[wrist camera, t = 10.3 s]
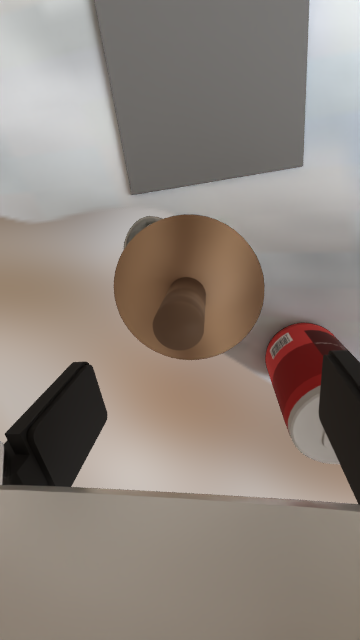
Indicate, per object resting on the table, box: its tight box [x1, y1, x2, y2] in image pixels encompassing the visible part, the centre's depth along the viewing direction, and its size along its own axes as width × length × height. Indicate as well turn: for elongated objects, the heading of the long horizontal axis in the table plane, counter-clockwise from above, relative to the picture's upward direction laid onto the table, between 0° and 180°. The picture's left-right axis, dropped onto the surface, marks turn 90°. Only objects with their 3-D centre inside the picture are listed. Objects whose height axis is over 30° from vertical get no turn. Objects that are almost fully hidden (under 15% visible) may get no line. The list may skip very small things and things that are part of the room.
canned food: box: [265, 323, 360, 464], centre depth 24 cm, size 8×8×11 cm
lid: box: [114, 215, 264, 360], centre depth 17 cm, size 11×11×6 cm
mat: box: [94, 0, 309, 195], centre depth 20 cm, size 15×15×1 cm
